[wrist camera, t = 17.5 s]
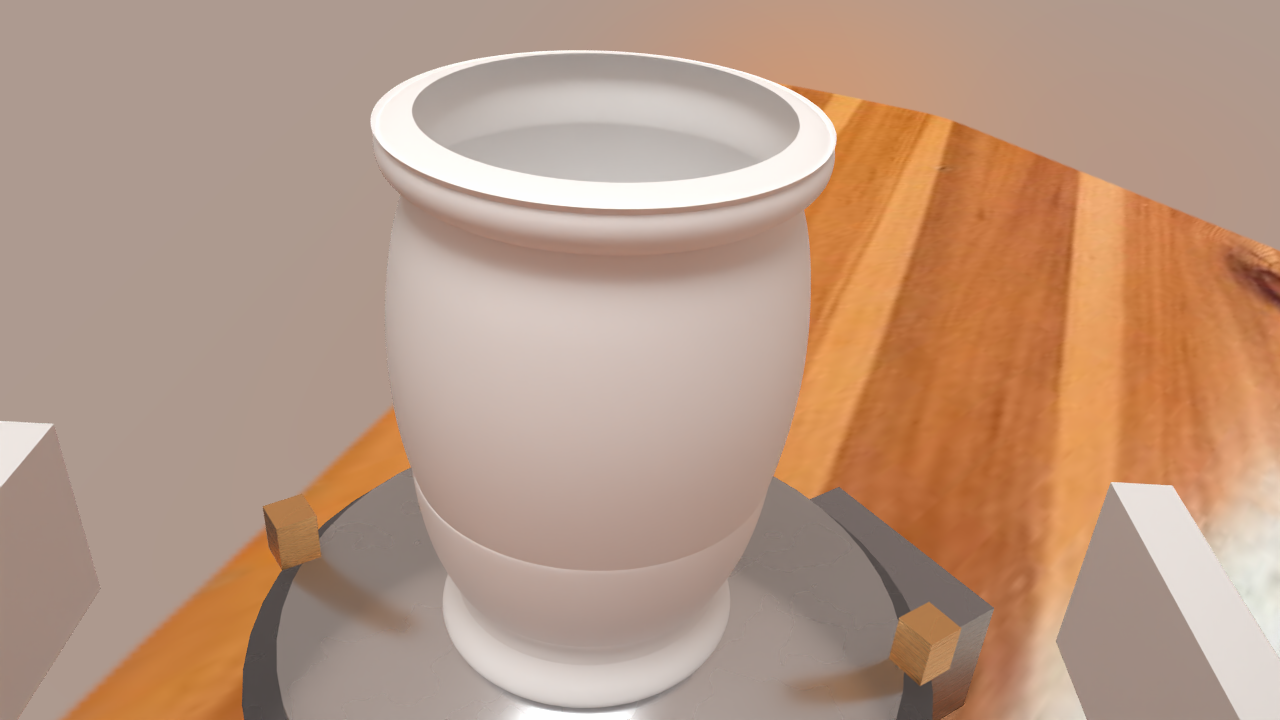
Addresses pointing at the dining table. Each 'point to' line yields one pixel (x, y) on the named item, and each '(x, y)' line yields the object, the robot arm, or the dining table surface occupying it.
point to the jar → (595, 348)
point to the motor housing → (680, 716)
